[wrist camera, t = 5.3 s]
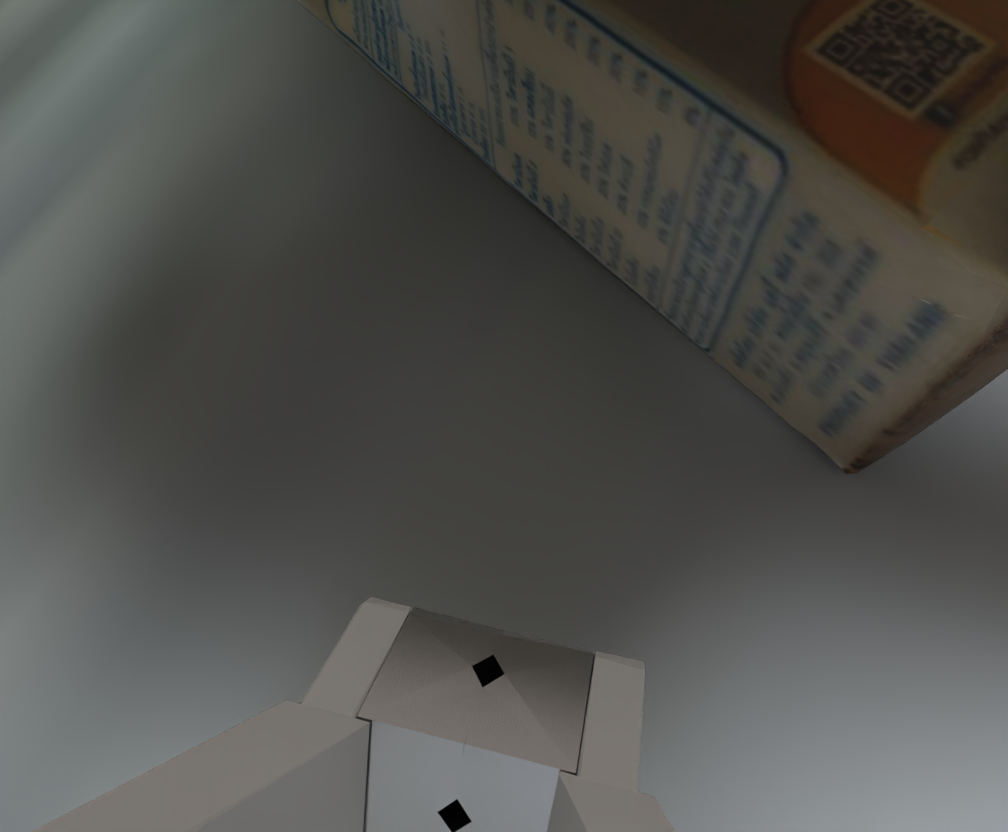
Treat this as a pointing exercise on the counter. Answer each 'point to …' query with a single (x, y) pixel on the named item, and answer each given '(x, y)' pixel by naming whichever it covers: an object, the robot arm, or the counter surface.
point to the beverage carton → (752, 177)
